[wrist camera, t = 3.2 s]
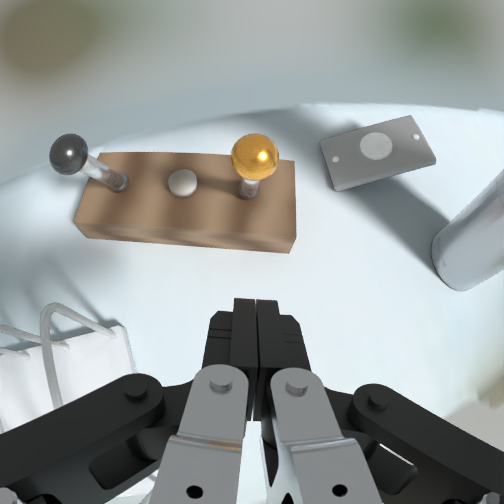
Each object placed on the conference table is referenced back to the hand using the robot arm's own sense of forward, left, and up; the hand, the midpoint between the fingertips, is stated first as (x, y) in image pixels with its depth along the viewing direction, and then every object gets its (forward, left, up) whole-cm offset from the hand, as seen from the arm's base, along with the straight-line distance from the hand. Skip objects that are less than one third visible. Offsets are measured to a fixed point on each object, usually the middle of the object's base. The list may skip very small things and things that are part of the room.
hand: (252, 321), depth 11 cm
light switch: (-17, -26, -20) cm, 37 cm away
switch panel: (+7, -17, -20) cm, 27 cm away
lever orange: (0, -17, -16) cm, 23 cm away
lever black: (+14, -17, -16) cm, 27 cm away
